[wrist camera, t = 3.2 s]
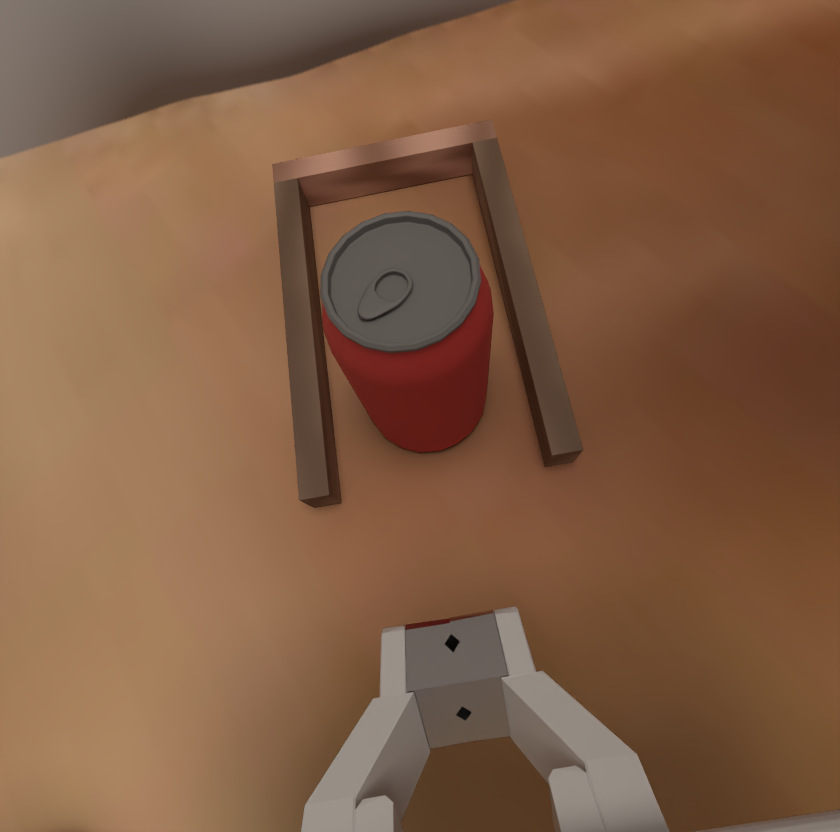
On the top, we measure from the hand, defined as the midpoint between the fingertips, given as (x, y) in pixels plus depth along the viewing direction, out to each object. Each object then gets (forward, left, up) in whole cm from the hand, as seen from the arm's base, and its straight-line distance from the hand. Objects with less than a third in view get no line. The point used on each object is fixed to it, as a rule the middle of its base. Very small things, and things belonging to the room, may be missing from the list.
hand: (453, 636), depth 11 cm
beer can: (0, -11, -15) cm, 18 cm away
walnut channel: (0, -17, -14) cm, 22 cm away
